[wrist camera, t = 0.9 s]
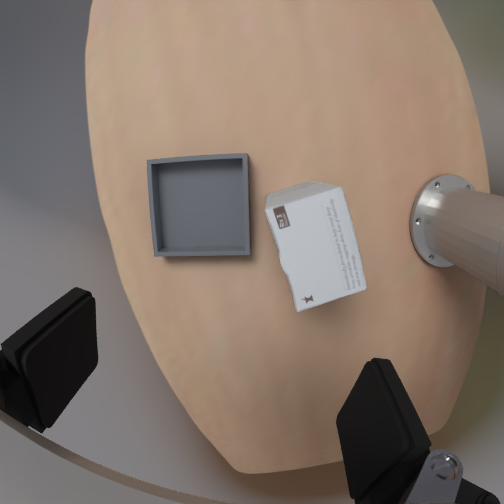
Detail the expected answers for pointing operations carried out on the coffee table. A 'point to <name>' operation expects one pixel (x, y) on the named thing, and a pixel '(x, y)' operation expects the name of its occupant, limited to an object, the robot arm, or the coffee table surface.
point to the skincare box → (315, 243)
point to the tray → (199, 205)
